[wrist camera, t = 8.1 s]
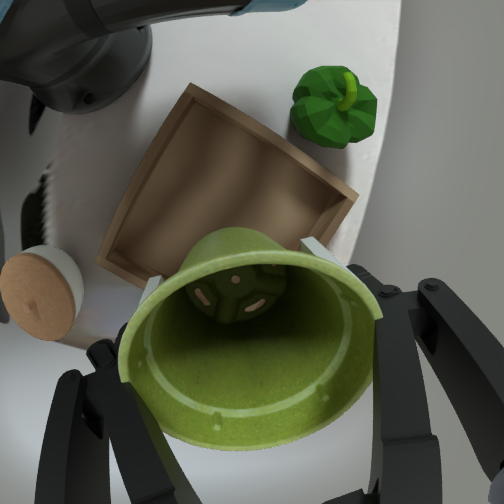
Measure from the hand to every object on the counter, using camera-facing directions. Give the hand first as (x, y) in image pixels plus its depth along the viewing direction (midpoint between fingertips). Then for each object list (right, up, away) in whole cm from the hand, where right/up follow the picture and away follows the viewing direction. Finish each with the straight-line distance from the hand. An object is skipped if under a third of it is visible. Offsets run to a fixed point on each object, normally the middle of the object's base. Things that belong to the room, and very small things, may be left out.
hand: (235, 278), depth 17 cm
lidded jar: (-24, -1, +15) cm, 28 cm away
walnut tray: (-2, +6, +16) cm, 17 cm away
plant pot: (0, 0, 0) cm, 0 cm away
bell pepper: (+8, +17, +13) cm, 23 cm away
